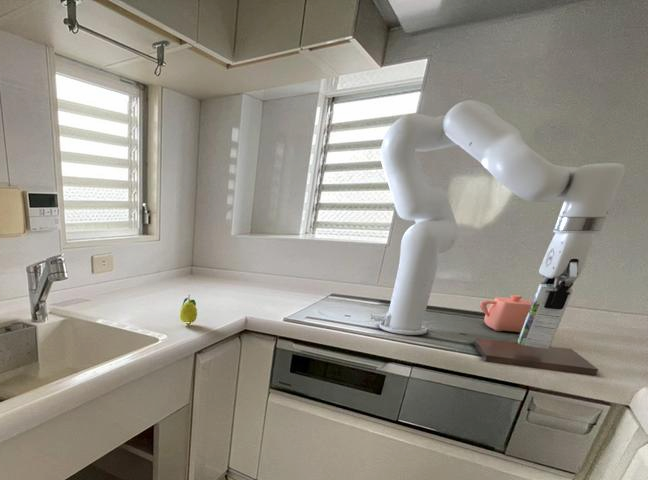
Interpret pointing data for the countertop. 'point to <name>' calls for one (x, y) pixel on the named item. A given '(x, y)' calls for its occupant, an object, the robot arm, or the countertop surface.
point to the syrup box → (541, 320)
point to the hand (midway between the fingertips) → (548, 304)
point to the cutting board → (534, 356)
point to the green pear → (188, 311)
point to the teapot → (506, 313)
